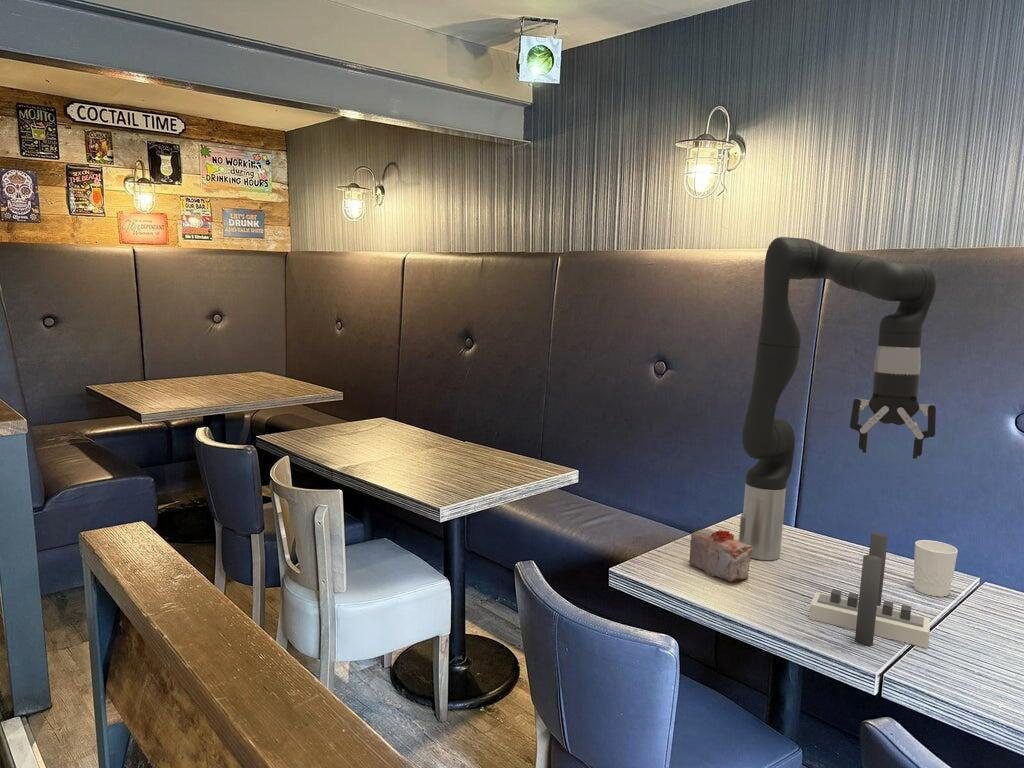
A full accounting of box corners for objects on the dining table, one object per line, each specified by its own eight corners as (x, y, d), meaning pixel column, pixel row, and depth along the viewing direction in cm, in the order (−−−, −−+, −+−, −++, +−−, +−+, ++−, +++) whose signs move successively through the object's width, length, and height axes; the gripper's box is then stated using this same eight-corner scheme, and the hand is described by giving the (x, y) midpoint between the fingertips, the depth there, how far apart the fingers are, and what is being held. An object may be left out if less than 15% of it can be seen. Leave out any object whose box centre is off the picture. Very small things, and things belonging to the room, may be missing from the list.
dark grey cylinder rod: (862, 612, 142) (870, 535, 140) (863, 606, 144) (871, 531, 142) (879, 616, 140) (887, 538, 138) (880, 610, 143) (888, 534, 141)
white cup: (910, 593, 152) (915, 548, 151) (909, 580, 159) (914, 537, 158) (953, 601, 149) (959, 555, 147) (950, 588, 155) (956, 544, 154)
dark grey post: (853, 642, 129) (862, 558, 127) (855, 636, 132) (864, 553, 130) (872, 647, 128) (881, 562, 126) (873, 640, 130) (882, 557, 128)
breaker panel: (809, 618, 138) (811, 592, 138) (814, 605, 144) (817, 580, 143) (927, 648, 128) (930, 620, 127) (928, 633, 134) (931, 606, 133)
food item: (755, 580, 157) (759, 537, 155) (732, 587, 152) (736, 543, 151) (705, 559, 168) (708, 519, 166) (683, 566, 163) (686, 525, 162)
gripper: (853, 369, 134) (846, 453, 136) (941, 375, 127) (932, 463, 129) (856, 366, 140) (850, 447, 142) (940, 371, 133) (932, 456, 135)
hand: (889, 455), depth 135 cm, fingers open, 8 cm apart
